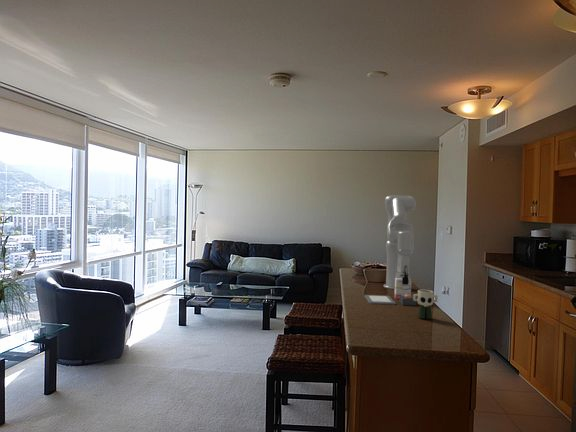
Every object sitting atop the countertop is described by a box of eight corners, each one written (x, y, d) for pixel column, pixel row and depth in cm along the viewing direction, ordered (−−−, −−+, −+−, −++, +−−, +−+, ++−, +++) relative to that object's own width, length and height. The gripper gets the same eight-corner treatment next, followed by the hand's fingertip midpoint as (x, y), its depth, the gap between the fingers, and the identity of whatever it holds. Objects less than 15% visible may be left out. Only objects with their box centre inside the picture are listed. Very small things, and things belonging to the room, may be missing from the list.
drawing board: (364, 296, 243) (364, 294, 243) (389, 297, 242) (389, 295, 242) (369, 303, 225) (369, 301, 225) (395, 304, 224) (395, 302, 224)
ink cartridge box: (395, 299, 237) (396, 273, 237) (394, 297, 242) (395, 272, 242) (411, 300, 236) (411, 274, 236) (409, 298, 241) (410, 273, 241)
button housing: (399, 302, 231) (399, 295, 231) (412, 302, 231) (412, 296, 230) (402, 305, 224) (402, 298, 224) (415, 305, 224) (416, 299, 223)
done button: (403, 297, 229) (403, 294, 229) (410, 298, 229) (410, 294, 229) (405, 299, 225) (405, 295, 225) (412, 299, 225) (412, 295, 225)
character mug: (413, 319, 196) (414, 291, 195) (411, 315, 203) (412, 288, 202) (438, 321, 194) (439, 293, 193) (435, 317, 201) (436, 290, 200)
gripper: (394, 251, 247) (393, 280, 247) (400, 254, 230) (400, 285, 230) (407, 251, 247) (406, 281, 247) (414, 254, 229) (413, 285, 229)
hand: (403, 283), depth 238 cm, fingers open, 9 cm apart
